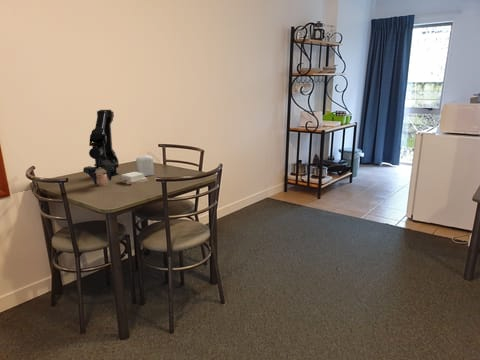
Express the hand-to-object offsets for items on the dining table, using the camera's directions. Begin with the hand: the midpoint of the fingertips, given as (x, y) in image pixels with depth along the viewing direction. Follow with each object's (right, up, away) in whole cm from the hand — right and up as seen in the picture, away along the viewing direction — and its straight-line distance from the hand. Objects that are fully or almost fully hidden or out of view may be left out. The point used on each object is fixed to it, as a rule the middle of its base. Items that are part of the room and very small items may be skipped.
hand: (103, 182), depth 203 cm
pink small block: (0, -1, 0) cm, 1 cm away
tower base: (+15, 0, +6) cm, 17 cm away
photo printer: (+19, +4, +19) cm, 27 cm away
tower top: (+15, +2, +5) cm, 16 cm away
